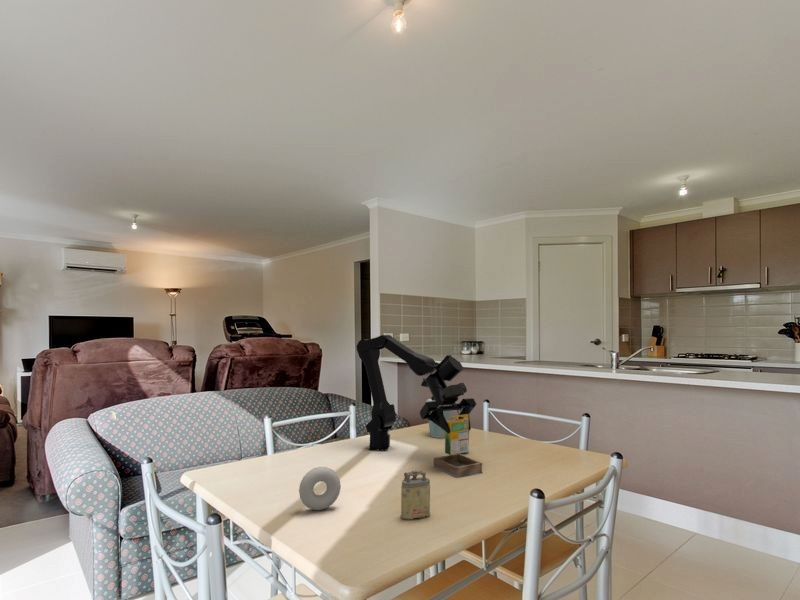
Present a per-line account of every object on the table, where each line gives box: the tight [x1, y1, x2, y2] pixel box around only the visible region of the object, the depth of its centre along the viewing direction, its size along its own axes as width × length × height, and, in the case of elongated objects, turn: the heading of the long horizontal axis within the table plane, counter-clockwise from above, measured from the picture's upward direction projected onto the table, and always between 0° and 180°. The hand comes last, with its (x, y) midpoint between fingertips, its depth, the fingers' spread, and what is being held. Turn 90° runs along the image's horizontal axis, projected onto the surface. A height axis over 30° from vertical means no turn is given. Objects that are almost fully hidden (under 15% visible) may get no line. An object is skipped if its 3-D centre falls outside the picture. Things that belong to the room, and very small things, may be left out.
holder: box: [433, 453, 483, 479], centre depth 141 cm, size 10×12×3 cm
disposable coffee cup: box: [425, 398, 452, 439], centre depth 184 cm, size 11×11×15 cm
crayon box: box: [444, 413, 470, 455], centre depth 142 cm, size 7×3×12 cm, turn 122°
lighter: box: [400, 469, 431, 520], centre depth 107 cm, size 7×4×10 cm, turn 112°
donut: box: [298, 466, 342, 511], centre depth 110 cm, size 10×4×10 cm, turn 113°
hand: (459, 431), depth 141 cm, fingers closed on crayon box, 7 cm apart
